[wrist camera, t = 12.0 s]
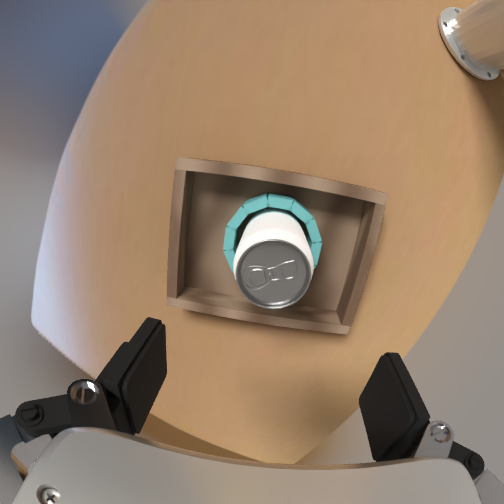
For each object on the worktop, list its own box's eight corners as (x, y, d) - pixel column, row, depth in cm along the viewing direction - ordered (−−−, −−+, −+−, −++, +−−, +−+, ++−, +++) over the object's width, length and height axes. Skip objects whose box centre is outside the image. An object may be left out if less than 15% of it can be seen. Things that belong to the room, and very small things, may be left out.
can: (239, 214, 31) (219, 244, 20) (295, 200, 31) (308, 224, 19) (253, 266, 33) (242, 320, 22) (306, 254, 32) (323, 304, 21)
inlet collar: (322, 201, 30) (329, 207, 27) (305, 281, 33) (309, 296, 30) (236, 186, 31) (230, 190, 27) (225, 268, 34) (219, 281, 30)
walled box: (373, 189, 30) (388, 194, 26) (340, 315, 36) (347, 334, 31) (189, 157, 31) (176, 157, 27) (178, 289, 36) (166, 305, 32)
